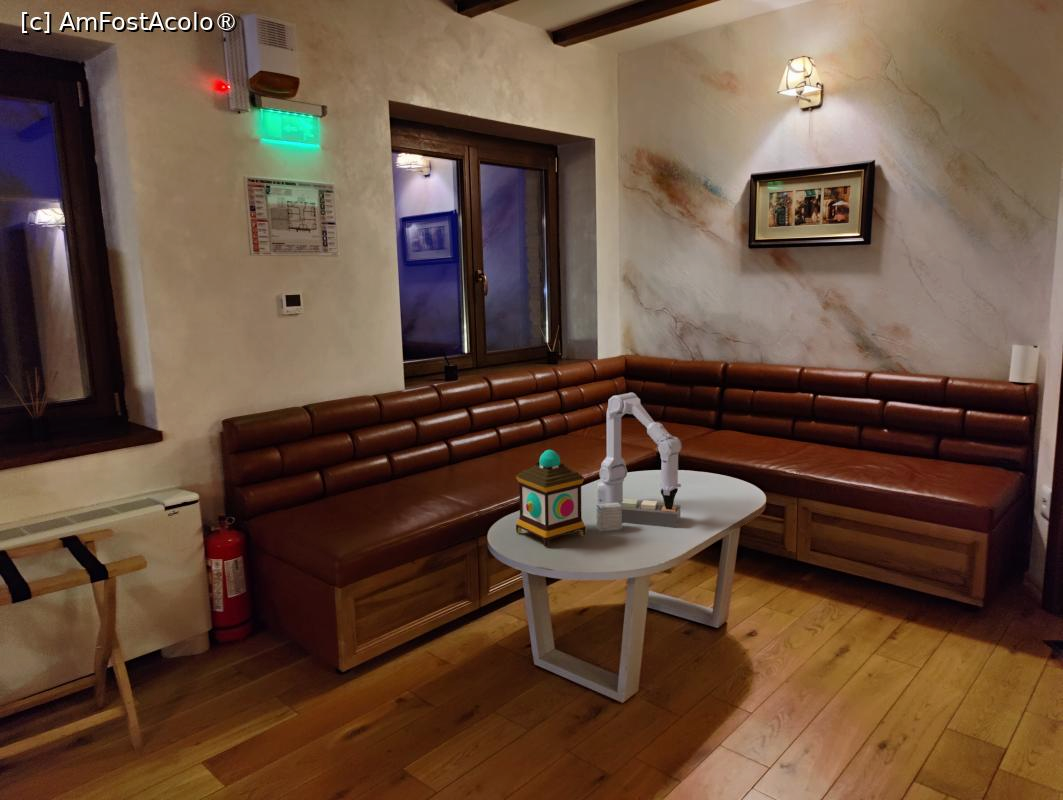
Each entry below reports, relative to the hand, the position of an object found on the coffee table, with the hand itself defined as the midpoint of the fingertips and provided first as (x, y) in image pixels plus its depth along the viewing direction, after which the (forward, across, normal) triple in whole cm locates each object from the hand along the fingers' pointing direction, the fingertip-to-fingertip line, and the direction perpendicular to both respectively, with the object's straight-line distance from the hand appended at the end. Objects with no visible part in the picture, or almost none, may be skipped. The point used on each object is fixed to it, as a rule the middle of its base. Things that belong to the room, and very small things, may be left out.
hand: (668, 508), depth 261 cm
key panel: (+5, 0, +7) cm, 9 cm away
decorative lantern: (+5, -23, +37) cm, 44 cm away
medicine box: (+5, -12, +19) cm, 23 cm away
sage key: (+1, 0, +14) cm, 14 cm away
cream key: (+1, 0, +7) cm, 7 cm away
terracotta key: (+3, 0, 0) cm, 3 cm away
